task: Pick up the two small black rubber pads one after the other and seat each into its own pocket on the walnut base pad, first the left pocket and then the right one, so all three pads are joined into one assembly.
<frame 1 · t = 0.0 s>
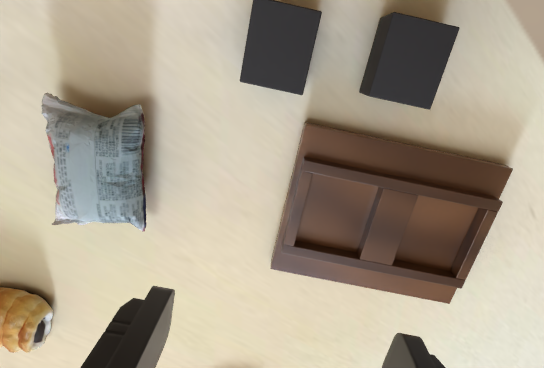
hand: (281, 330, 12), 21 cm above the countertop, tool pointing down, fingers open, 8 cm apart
base pad: (380, 216, 34), on the countertop
black pad 1: (397, 62, 29), on the countertop
packaged food: (107, 160, 33), on the countertop
pastry: (21, 309, 39), on the countertop
black pad 2: (279, 49, 29), on the countertop
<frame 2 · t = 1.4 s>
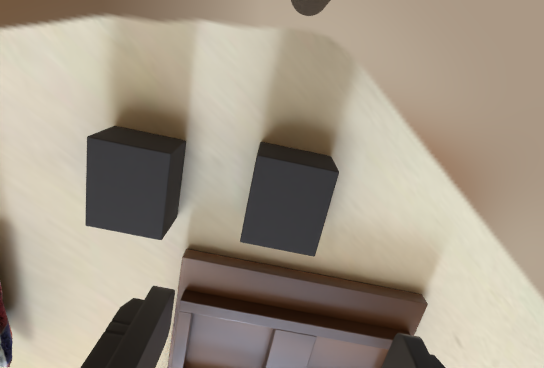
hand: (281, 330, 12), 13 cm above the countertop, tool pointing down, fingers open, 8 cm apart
base pad: (285, 344, 29), on the countertop
black pad 1: (286, 188, 24), on the countertop
black pad 2: (147, 173, 24), on the countertop
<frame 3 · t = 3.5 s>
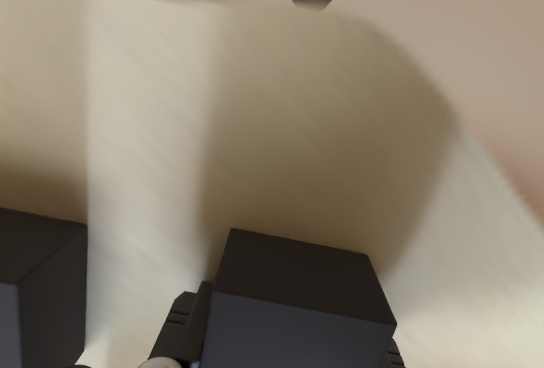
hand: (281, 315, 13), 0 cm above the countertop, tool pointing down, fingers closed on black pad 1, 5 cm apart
black pad 1: (282, 307, 13), on the countertop, touching gripper
black pad 2: (21, 280, 13), on the countertop
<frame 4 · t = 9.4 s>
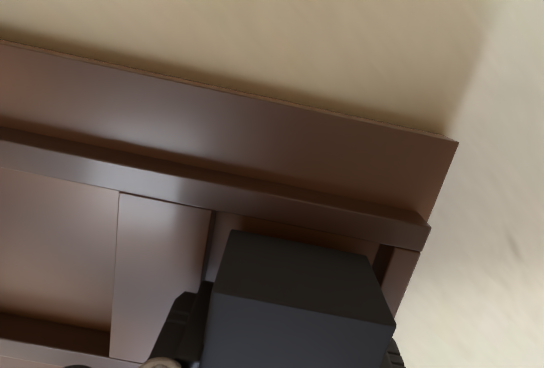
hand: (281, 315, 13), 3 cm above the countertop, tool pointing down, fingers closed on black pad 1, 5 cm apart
base pad: (175, 255, 15), on the countertop
black pad 1: (281, 308, 13), point 2 cm above the countertop, touching gripper
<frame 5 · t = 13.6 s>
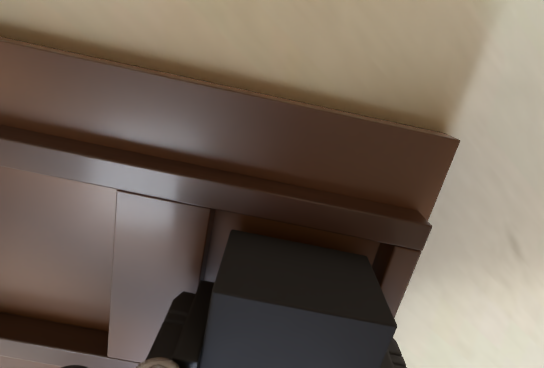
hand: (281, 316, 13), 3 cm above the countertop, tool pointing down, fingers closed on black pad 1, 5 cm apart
base pad: (174, 254, 15), on the countertop
black pad 1: (282, 308, 13), point 2 cm above the countertop, touching gripper
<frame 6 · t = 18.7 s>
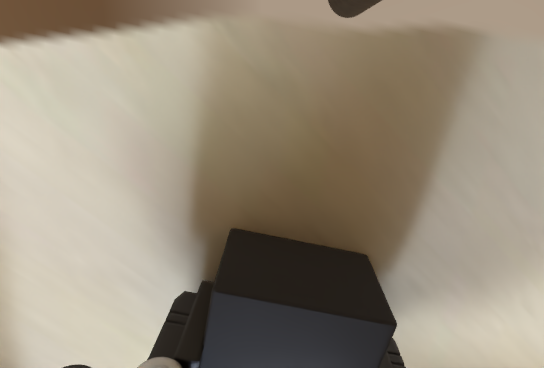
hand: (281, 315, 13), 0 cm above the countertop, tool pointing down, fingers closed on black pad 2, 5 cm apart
black pad 2: (282, 307, 13), on the countertop, touching gripper
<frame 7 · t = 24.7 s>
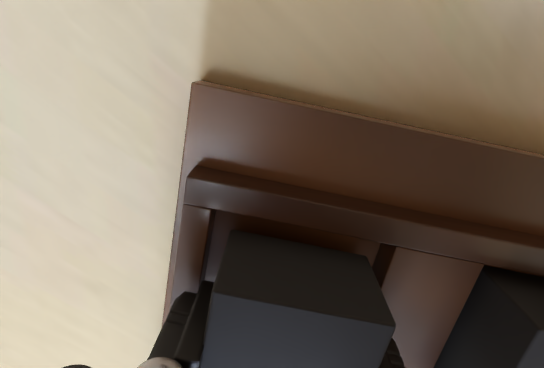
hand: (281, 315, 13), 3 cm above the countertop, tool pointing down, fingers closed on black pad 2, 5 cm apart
base pad: (386, 295, 15), on the countertop
black pad 1: (504, 333, 14), point 1 cm above the countertop, touching base pad
black pad 2: (281, 308, 13), point 2 cm above the countertop, touching gripper
when the fingers open (3 cm above the countertop, at t = 29.2 s): black pad 2 drops 1 cm, resting on base pad.
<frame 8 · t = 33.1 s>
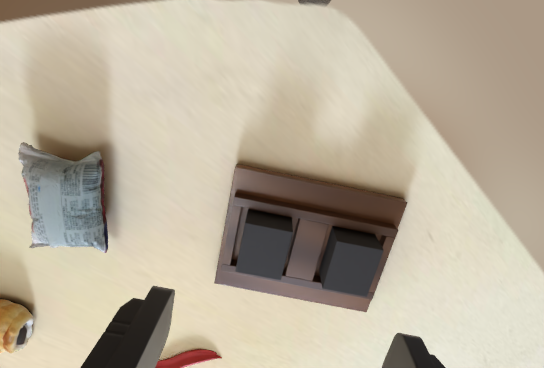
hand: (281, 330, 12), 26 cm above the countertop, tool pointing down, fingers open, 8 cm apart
base pad: (305, 240, 40), on the countertop
cayenne pepper: (181, 357, 48), on the countertop
black pad 1: (346, 252, 39), point 1 cm above the countertop, touching base pad
packaged food: (76, 193, 39), on the countertop
pastry: (7, 316, 46), on the countertop
black pad 2: (265, 236, 39), point 1 cm above the countertop, touching base pad
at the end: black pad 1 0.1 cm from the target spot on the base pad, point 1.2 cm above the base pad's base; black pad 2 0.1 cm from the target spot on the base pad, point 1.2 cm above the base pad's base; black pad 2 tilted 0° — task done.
